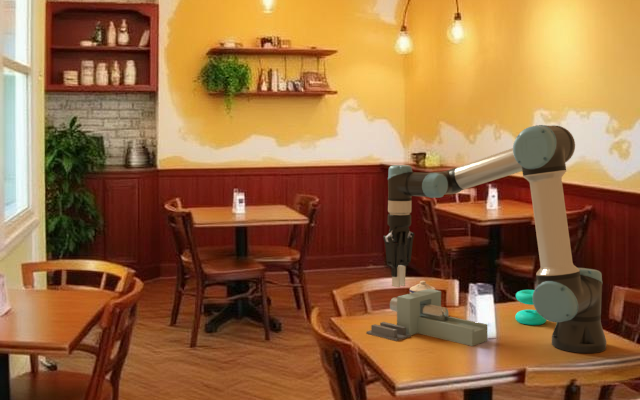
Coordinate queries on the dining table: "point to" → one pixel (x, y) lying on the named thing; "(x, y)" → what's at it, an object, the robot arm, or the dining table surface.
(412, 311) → the grey-green rectangular arch
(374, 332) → the cradle
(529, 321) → the donuts
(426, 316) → the dowel
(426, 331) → the shelf
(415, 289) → the teacup with lid
